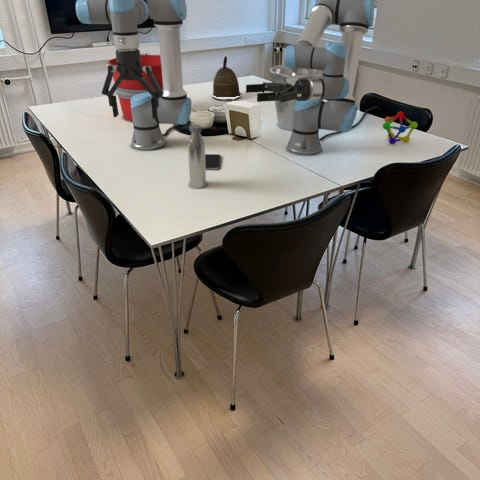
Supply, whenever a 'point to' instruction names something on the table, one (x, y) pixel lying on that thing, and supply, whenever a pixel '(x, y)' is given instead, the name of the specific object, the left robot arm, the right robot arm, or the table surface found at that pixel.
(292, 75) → the bucket
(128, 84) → the bucket
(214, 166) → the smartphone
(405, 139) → the educational toy
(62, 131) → the table surface
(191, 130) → the cap
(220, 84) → the bell
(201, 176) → the bottle
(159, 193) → the table surface
